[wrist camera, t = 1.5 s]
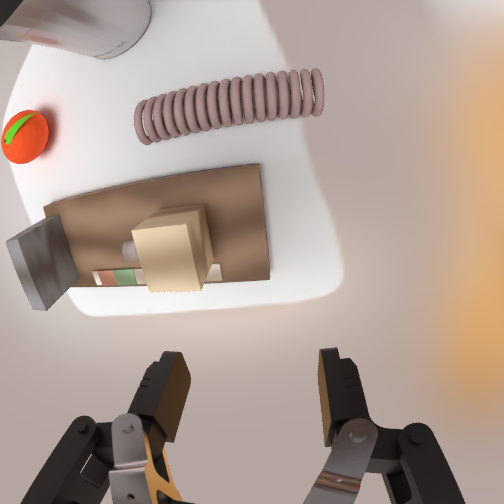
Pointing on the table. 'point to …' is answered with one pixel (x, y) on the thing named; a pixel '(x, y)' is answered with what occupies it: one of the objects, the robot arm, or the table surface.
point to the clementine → (25, 136)
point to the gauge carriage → (172, 249)
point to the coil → (210, 112)
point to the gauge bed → (131, 215)
